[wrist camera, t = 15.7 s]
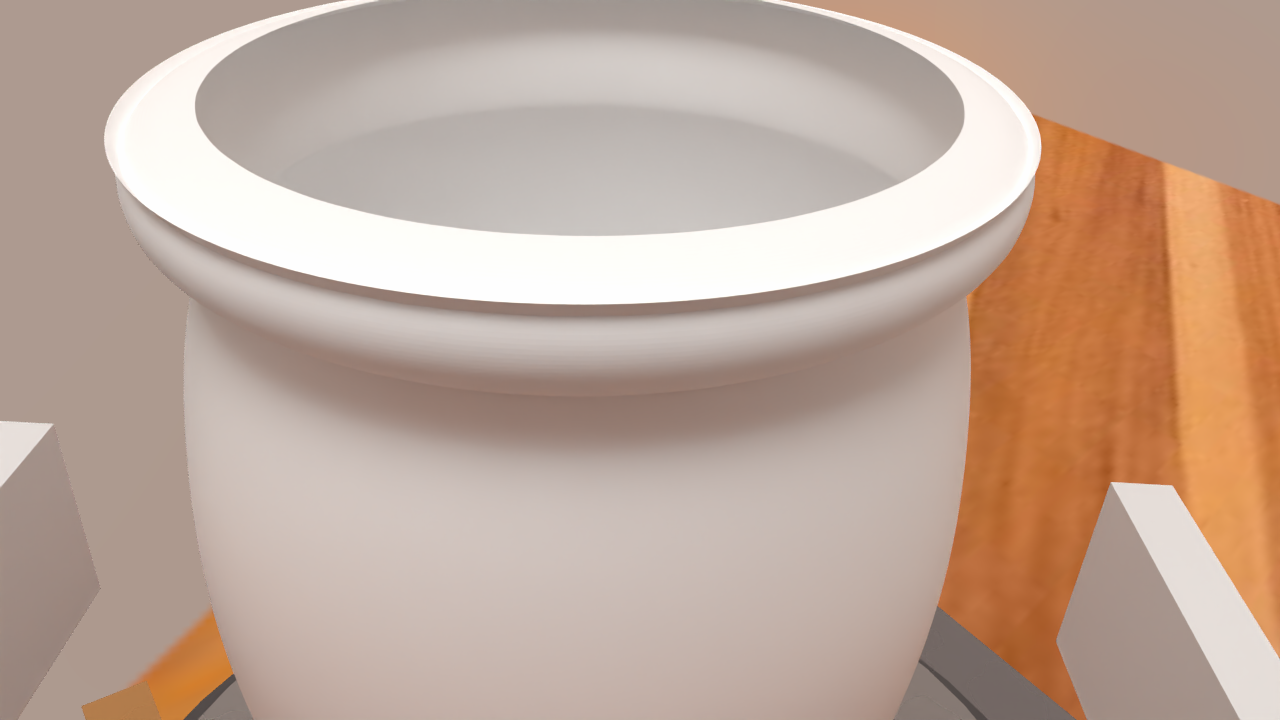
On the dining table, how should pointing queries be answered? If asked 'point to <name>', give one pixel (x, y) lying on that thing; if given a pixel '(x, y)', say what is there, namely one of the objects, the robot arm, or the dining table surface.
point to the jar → (574, 348)
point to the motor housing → (928, 716)
